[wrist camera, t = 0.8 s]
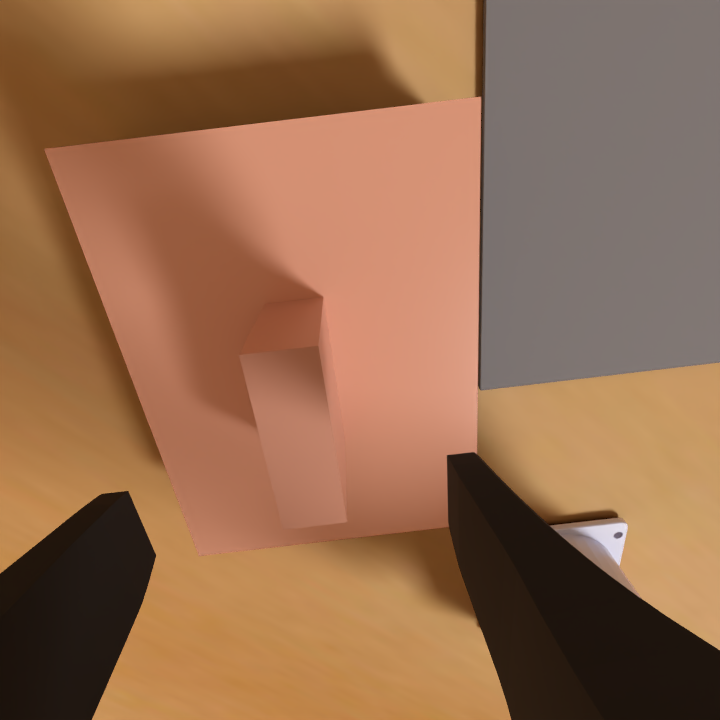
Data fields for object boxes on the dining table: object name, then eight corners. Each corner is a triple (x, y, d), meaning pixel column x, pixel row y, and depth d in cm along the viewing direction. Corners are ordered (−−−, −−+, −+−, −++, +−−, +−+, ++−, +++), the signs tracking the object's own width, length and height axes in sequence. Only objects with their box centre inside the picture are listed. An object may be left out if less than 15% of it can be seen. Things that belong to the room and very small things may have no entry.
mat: (788, 351, 21) (794, 353, 20) (478, 387, 21) (480, 390, 20) (995, -239, 13) (1010, -247, 12) (485, -176, 13) (489, -184, 12)
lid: (466, 498, 21) (509, 613, 16) (208, 528, 21) (165, 653, 16) (465, 103, 14) (545, 68, 8) (74, 149, 14) (-89, 144, 8)
